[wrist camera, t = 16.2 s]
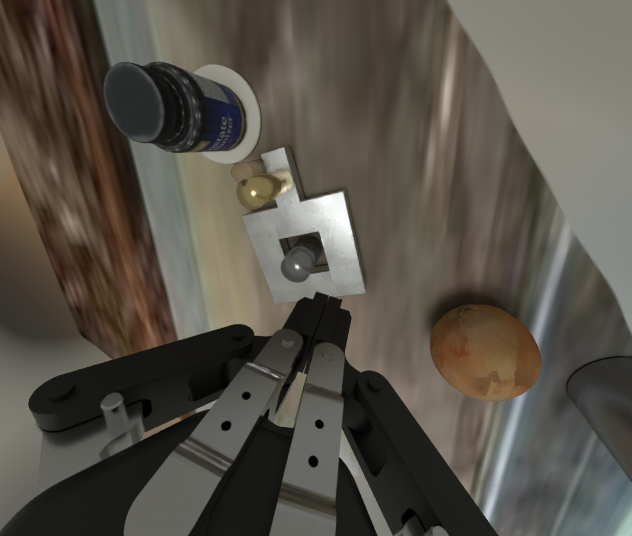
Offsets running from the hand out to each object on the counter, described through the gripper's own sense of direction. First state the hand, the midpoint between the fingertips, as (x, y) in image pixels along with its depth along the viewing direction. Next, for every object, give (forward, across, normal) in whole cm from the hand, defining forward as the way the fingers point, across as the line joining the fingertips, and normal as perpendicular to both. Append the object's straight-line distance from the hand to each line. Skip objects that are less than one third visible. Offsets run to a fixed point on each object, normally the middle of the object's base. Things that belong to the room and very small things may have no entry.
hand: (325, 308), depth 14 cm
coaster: (+17, +17, -7) cm, 25 cm away
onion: (+18, -16, +8) cm, 26 cm away
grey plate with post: (+17, +6, +2) cm, 18 cm away
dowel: (+17, +12, -4) cm, 21 cm away
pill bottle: (+16, +17, -7) cm, 24 cm away
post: (+17, +5, +5) cm, 18 cm away
